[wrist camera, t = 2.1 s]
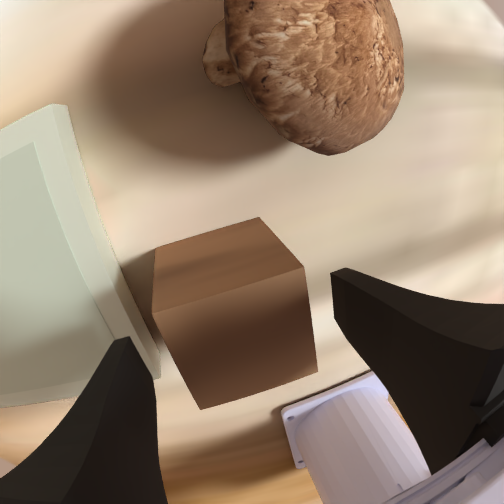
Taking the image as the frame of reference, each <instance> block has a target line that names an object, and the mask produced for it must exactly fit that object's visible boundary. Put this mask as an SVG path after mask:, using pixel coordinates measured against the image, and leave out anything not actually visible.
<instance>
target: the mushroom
mask: <svg viewBox="0 0 504 504" xmlns="http://www.w3.org/2000/svg"><path fill="white" fill-rule="evenodd" d="M224 13H225V19H223V20H222V21H221V22H219V23H218V24H217V25H216V26H215V27H214V28H213V30H212V32H211V34H210V36H209V38H208V40H207V42H206V46H205V50H204V54H203V58H202V61H203V65H204V69H205V73H206V74H207V76H208V78H209V79H210V81H211V82H212V83H213V84H215V85H218V86H221V87H225V86H229V85H232V84H235V83H239V82H241V84H242V86H243V88H244V90H245V93H246V95H247V97H248V99H249V101H250V102H251V103H252V104H253V105H254V106H255V107H256V108H257V109H258V111H259V112H260V113H261V114H262V115H263V116H264V117H265V118H266V120H267V121H268V122H269V123H270V124H271V125H272V126H273V127H274V129H275V130H276V131H277V132H278V133H279V134H280V135H281V136H283V137H284V138H286V139H287V140H289V141H291V142H294V143H296V144H298V145H300V146H303V147H305V148H307V149H309V150H312V151H314V152H316V153H319V154H323V155H327V156H330V155H335V154H340V153H344V152H347V151H349V150H351V149H353V148H355V147H356V146H358V145H360V144H362V143H364V142H366V141H368V140H370V139H372V138H374V137H375V136H376V135H377V134H378V133H379V132H380V131H381V130H383V128H384V127H385V126H386V125H387V123H388V122H389V121H390V120H391V118H392V117H393V114H394V112H395V110H396V108H397V106H398V104H399V101H400V99H401V96H402V93H403V90H404V60H403V43H402V38H401V34H400V30H399V26H398V22H397V18H396V16H395V13H394V10H393V8H392V5H391V3H390V0H224Z"/></svg>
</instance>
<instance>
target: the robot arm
mask: <svg viewBox="0 0 504 504" xmlns="http://www.w3.org/2000/svg"><path fill="white" fill-rule="evenodd" d="M330 275H331V285H332V297H333V308H334V319H335V320H336V322H337V324H338V325H339V327H340V329H341V331H342V332H343V334H344V335H345V337H346V339H347V340H348V341H349V343H350V344H351V345H352V346H353V348H354V349H355V350H356V351H357V353H358V354H359V355H360V356H361V357H362V359H363V360H364V361H365V362H366V364H367V365H368V366H369V367H370V368H371V370H372V371H371V372H369V373H367V374H365V375H362V376H360V377H358V378H356V379H354V380H351V381H349V382H347V383H344V384H342V385H340V386H337V387H335V388H333V389H330V390H328V391H325V392H323V393H320V394H318V395H315V396H313V397H310V398H308V399H305V400H302V401H300V402H297V403H294V404H292V405H289V406H286V407H284V408H283V409H282V410H281V416H282V420H283V423H284V427H285V430H286V434H287V438H288V441H289V445H290V448H291V452H292V456H293V459H294V463H295V466H296V468H297V469H302V468H305V467H307V469H308V471H309V474H310V476H311V478H312V480H313V482H314V485H315V487H316V489H317V491H318V493H319V495H320V498H321V500H322V502H323V504H504V304H483V303H471V302H463V301H455V300H449V299H444V298H439V297H434V296H430V295H426V294H422V293H419V292H415V291H412V290H408V289H405V288H402V287H399V286H396V285H393V284H390V283H388V282H385V281H382V280H379V279H377V278H374V277H371V276H369V275H366V274H363V273H361V272H358V271H355V270H352V269H349V268H343V269H340V270H337V271H334V272H332V273H330ZM388 393H389V394H390V396H391V397H392V399H393V401H394V402H395V404H396V405H397V407H398V409H399V411H400V412H401V414H402V416H403V418H404V419H405V421H406V423H407V425H408V427H409V428H410V430H411V432H412V433H411V432H410V430H409V429H408V427H407V426H406V425H405V423H404V422H403V421H402V419H401V418H400V417H399V415H398V414H397V413H396V411H395V410H394V409H393V407H392V406H391V405H390V403H389V402H388V400H387V399H388ZM0 504H168V502H167V498H166V494H165V490H164V486H163V481H162V476H161V471H160V465H159V456H158V438H157V408H156V396H155V389H154V383H153V376H152V375H151V373H150V371H149V370H148V368H147V366H146V364H145V363H144V361H143V359H142V357H141V356H140V354H139V352H138V350H137V349H136V347H135V345H134V343H133V341H132V339H131V337H130V336H127V337H124V338H120V339H116V340H114V341H113V342H112V344H111V345H110V347H109V348H108V350H107V352H106V353H105V355H104V357H103V358H102V360H101V362H100V364H99V365H98V367H97V369H96V370H95V372H94V374H93V375H92V377H91V379H90V380H89V382H88V383H87V385H86V387H85V388H84V390H83V391H82V393H81V394H80V396H79V397H78V399H77V400H76V402H75V403H74V405H73V406H72V408H71V409H70V410H69V412H68V413H67V414H66V416H65V417H64V418H63V420H62V421H61V422H60V423H59V425H58V426H57V427H56V428H55V429H54V430H53V432H52V433H51V434H50V435H49V436H48V437H47V438H46V439H45V440H44V441H43V443H42V444H41V445H40V446H39V447H38V448H37V449H36V450H35V451H34V452H33V453H31V454H30V455H29V456H28V457H27V458H26V459H25V460H24V461H23V462H21V463H20V464H19V465H18V466H17V467H15V468H14V469H13V470H11V471H10V472H9V473H7V474H6V475H5V476H3V477H2V478H0Z"/></svg>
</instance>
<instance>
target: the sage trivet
mask: <svg viewBox="0 0 504 504" xmlns="http://www.w3.org/2000/svg"><path fill="white" fill-rule="evenodd" d="M127 336H130V337H131V339H132V341H133V343H134V345H135V347H136V349H137V350H138V352H139V354H140V356H141V357H142V359H143V361H144V363H145V364H146V366H147V368H148V370H149V371H150V373H151V375H152V376H153V380H155V379H159V378H161V371H160V352H159V350H158V348H157V346H156V344H155V342H154V340H153V338H152V336H151V334H150V332H149V330H148V328H147V326H146V324H145V322H144V320H143V318H142V316H141V314H140V311H139V309H138V307H137V305H136V303H135V301H134V298H133V296H132V294H131V292H130V289H129V287H128V285H127V283H126V280H125V278H124V276H123V273H122V271H121V269H120V266H119V264H118V261H117V259H116V256H115V254H114V251H113V249H112V246H111V244H110V241H109V239H108V236H107V233H106V231H105V228H104V225H103V223H102V220H101V217H100V214H99V212H98V209H97V206H96V203H95V200H94V197H93V194H92V191H91V188H90V185H89V182H88V179H87V176H86V173H85V169H84V166H83V163H82V160H81V156H80V153H79V149H78V146H77V142H76V139H75V135H74V131H73V127H72V124H71V120H70V116H69V112H68V107H67V105H61V104H52V103H51V104H49V105H47V106H45V107H43V108H41V109H39V110H37V111H34V112H32V113H30V114H28V115H27V116H25V117H23V118H21V119H19V120H17V121H15V122H13V123H11V124H10V125H8V126H6V127H4V128H2V129H1V130H0V408H5V407H13V406H21V405H28V404H35V403H42V402H48V401H54V400H60V399H66V398H72V397H77V396H80V394H81V393H82V391H83V390H84V388H85V387H86V385H87V383H88V382H89V380H90V379H91V377H92V375H93V374H94V372H95V370H96V369H97V367H98V365H99V364H100V362H101V360H102V358H103V357H104V355H105V353H106V352H107V350H108V348H109V347H110V345H111V344H112V342H113V341H114V340H116V339H120V338H124V337H127Z"/></svg>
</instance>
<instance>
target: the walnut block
mask: <svg viewBox="0 0 504 504" xmlns="http://www.w3.org/2000/svg"><path fill="white" fill-rule="evenodd" d="M152 316H153V318H154V320H155V322H156V325H157V327H158V329H159V331H160V333H161V335H162V337H163V339H164V342H165V344H166V346H167V348H168V350H169V352H170V354H171V356H172V358H173V360H174V362H175V364H176V366H177V368H178V370H179V372H180V374H181V375H182V377H183V379H184V381H185V383H186V385H187V387H188V389H189V391H190V392H191V394H192V396H193V398H194V400H195V402H196V403H197V405H198V407H199V409H200V410H202V409H206V408H210V407H214V406H217V405H221V404H224V403H228V402H231V401H234V400H238V399H241V398H244V397H247V396H251V395H254V394H257V393H260V392H263V391H266V390H269V389H272V388H275V387H278V386H281V385H284V384H286V383H289V382H292V381H295V380H297V379H300V378H303V377H305V376H308V375H311V374H313V373H316V372H318V367H317V359H316V350H315V342H314V334H313V326H312V319H311V311H310V304H309V297H308V290H307V283H306V276H305V269H304V266H303V265H302V264H301V263H300V262H299V261H298V259H297V258H296V257H295V256H294V255H293V254H292V253H291V252H290V251H289V249H288V248H287V247H286V246H285V245H284V244H283V243H282V242H281V241H280V239H279V238H278V237H277V236H276V235H275V234H274V233H273V232H272V231H271V230H270V228H269V227H268V226H267V225H266V224H265V223H264V222H263V221H262V220H261V219H260V218H259V217H257V218H254V219H251V220H247V221H244V222H240V223H237V224H233V225H230V226H226V227H223V228H220V229H216V230H213V231H210V232H206V233H203V234H200V235H196V236H193V237H190V238H186V239H183V240H180V241H177V242H173V243H170V244H167V245H164V246H160V247H157V248H156V249H155V262H154V277H153V294H152Z"/></svg>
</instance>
